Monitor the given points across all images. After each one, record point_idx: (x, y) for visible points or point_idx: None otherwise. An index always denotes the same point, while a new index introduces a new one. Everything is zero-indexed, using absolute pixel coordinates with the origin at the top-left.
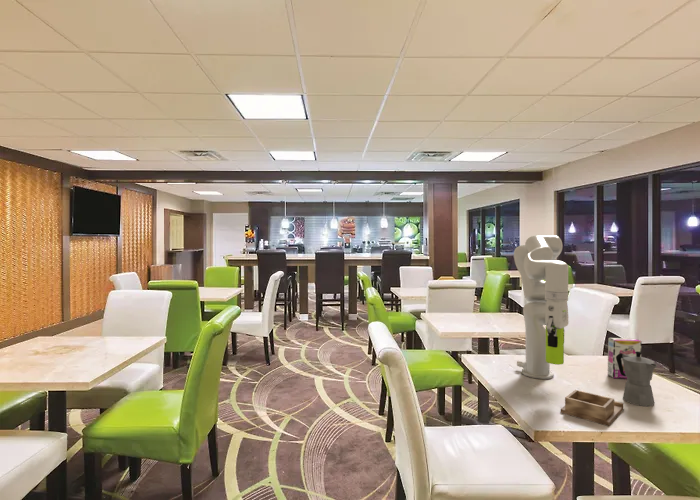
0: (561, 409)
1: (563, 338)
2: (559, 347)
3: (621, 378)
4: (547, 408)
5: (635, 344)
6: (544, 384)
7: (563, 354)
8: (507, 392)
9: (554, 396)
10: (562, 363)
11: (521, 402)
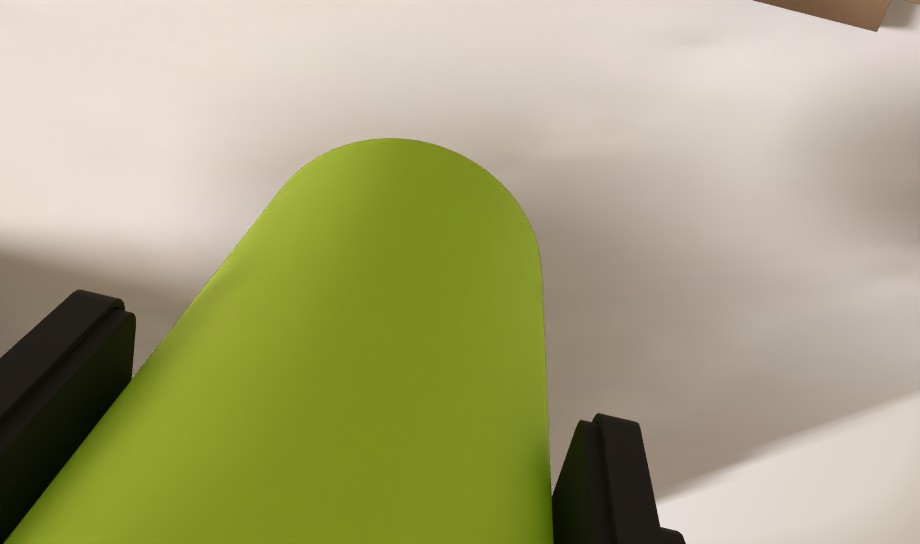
0: (878, 21)
1: (305, 408)
2: (511, 357)
3: None
4: (795, 149)
5: None
6: (93, 235)
7: (391, 198)
8: None
9: (400, 118)
10: (456, 155)
11: (738, 364)
